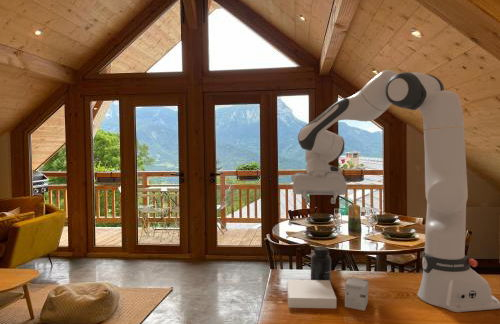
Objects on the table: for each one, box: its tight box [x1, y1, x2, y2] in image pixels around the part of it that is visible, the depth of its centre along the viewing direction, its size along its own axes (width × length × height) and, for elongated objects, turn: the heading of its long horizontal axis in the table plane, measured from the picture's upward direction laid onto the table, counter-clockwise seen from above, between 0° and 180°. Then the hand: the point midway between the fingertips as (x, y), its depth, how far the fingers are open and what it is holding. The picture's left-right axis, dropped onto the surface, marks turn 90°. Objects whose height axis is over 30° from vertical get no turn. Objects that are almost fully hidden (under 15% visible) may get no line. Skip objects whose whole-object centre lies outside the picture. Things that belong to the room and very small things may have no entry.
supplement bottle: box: [310, 245, 332, 283], centre depth 136 cm, size 7×7×12 cm
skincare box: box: [344, 276, 370, 311], centre depth 119 cm, size 6×6×7 cm
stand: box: [286, 279, 338, 309], centre depth 124 cm, size 14×14×3 cm
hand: (320, 202), depth 146 cm, fingers open, 8 cm apart
